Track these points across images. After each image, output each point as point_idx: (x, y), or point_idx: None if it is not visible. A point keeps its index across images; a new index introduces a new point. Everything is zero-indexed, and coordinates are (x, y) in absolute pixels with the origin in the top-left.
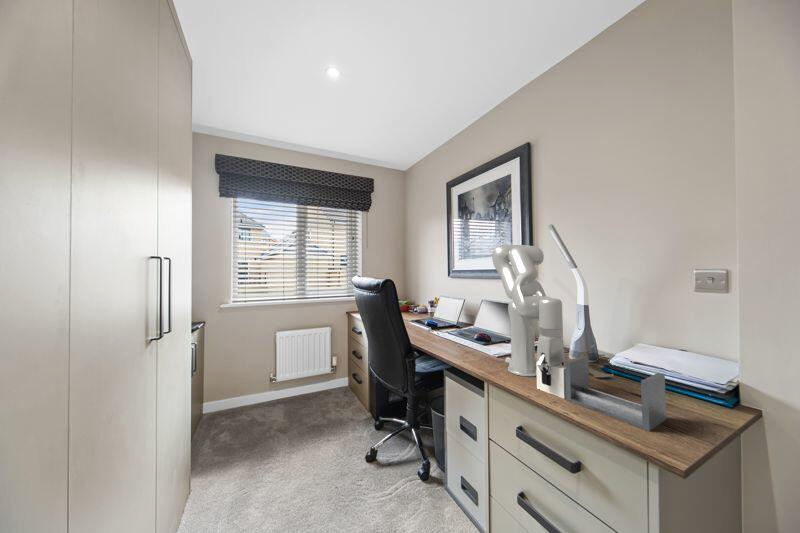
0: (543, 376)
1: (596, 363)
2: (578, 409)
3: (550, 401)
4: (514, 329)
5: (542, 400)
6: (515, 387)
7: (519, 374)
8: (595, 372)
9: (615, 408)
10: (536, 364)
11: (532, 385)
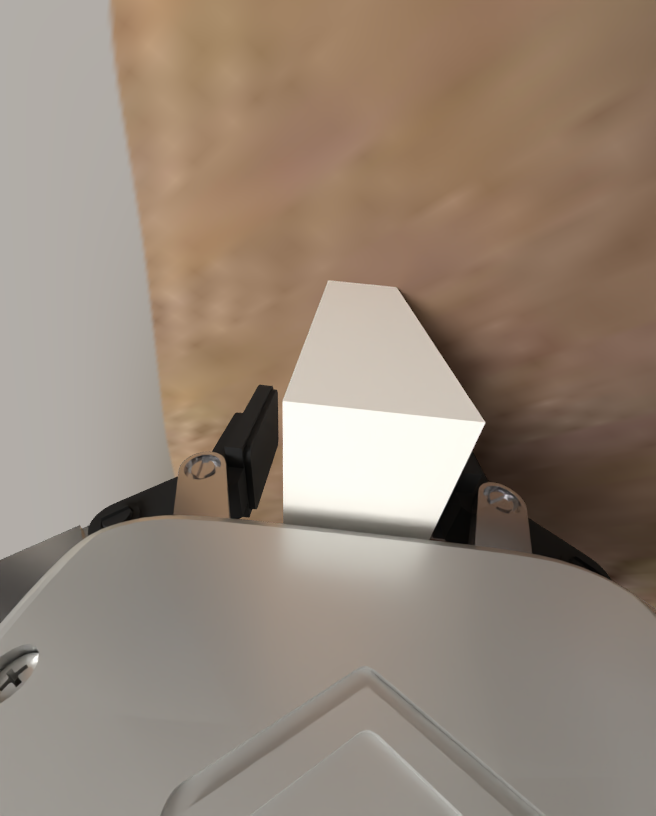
0: (218, 449)
1: None
2: (260, 510)
3: (219, 425)
4: None
5: (188, 397)
6: (169, 115)
7: None
8: None
9: None
10: (295, 369)
11: (364, 210)
